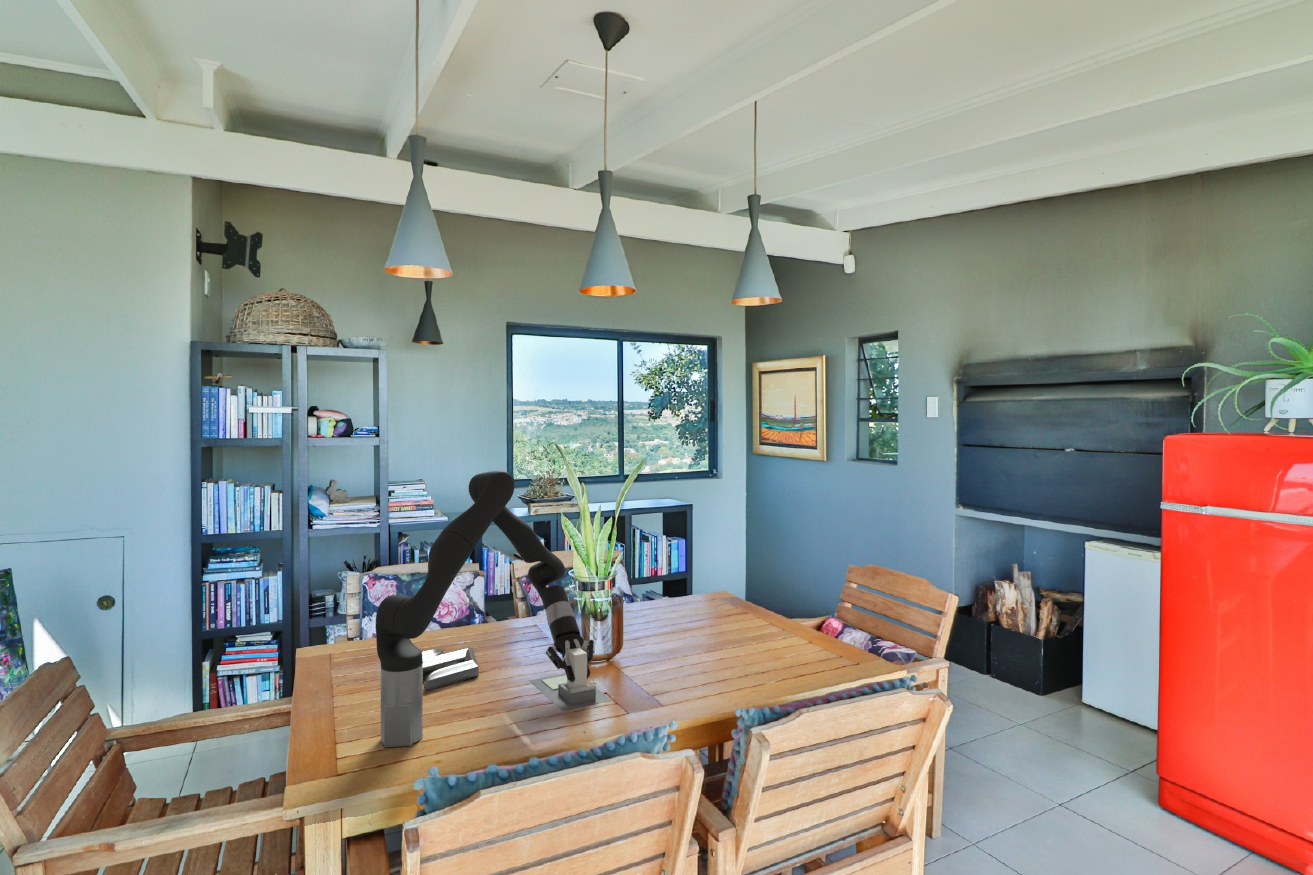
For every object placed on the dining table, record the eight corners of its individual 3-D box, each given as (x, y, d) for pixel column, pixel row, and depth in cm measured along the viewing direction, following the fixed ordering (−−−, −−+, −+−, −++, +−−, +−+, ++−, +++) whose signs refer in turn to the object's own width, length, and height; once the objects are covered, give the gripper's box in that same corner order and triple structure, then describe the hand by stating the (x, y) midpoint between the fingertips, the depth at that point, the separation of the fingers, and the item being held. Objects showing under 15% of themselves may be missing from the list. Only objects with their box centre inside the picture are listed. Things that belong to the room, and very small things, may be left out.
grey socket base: (562, 715, 182) (563, 696, 182) (528, 684, 203) (528, 667, 202) (612, 704, 189) (612, 686, 189) (574, 675, 210) (574, 659, 210)
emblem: (415, 638, 227) (498, 645, 221) (415, 655, 227) (498, 662, 222) (361, 668, 200) (454, 677, 194) (361, 688, 200) (454, 697, 194)
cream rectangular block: (574, 700, 188) (574, 655, 188) (566, 694, 193) (567, 649, 192) (586, 698, 190) (587, 653, 190) (578, 691, 195) (579, 647, 194)
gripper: (541, 618, 194) (559, 677, 184) (589, 611, 201) (608, 667, 191) (534, 632, 198) (551, 691, 188) (581, 625, 206) (599, 681, 196)
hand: (580, 679), depth 190 cm, fingers closed on cream rectangular block, 3 cm apart
